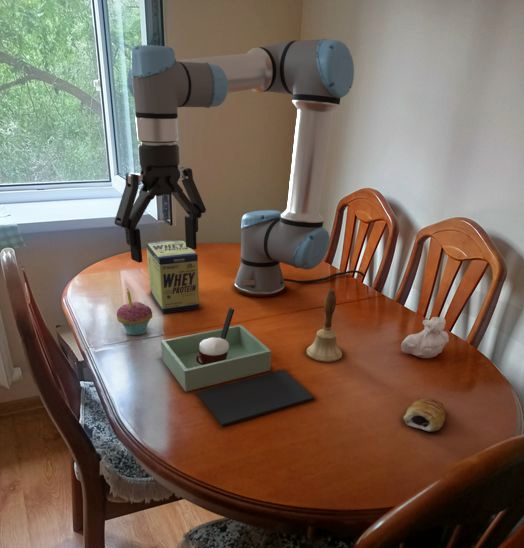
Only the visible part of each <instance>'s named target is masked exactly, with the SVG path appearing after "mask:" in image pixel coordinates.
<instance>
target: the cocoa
mask: <svg viewBox="0 0 524 548" xmlns="http://www.w3.org/2000/svg"><path fill="white" fill-rule="evenodd" d="M234 313H235V309H234V308H233V307H231V306H230V307H229V308H228V311H227V313H226V316H225V320H224V324H223V327H222V328H223V330H222V333H221V337H220V338H215V337H212V338H208V339H204V340H202V341H201V342H200V347H199V355H197V357H196V361H197V362H198V363H199V364H201V365H206V364H210V363H214V362H218V361H223V360H226V358H227V354H228V349H229V344H228V342H227V341H226V340H225V339H226V336H227V332H228V329H229V327H231V323H232V319H233V316H234ZM199 357H200V359H201V362H202V363H201V362H199V360H198V359H199Z"/></svg>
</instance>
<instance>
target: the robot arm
mask: <svg viewBox="0 0 524 548" xmlns="http://www.w3.org/2000/svg"><path fill="white" fill-rule="evenodd" d="M354 76H355V65H354V59H353V55H352V54H351V51H350V49H349V47H348V46H347V44H346V43H344V42H343V41H341V40H339V39H329V38H321V39H320V38H319V39H303V40H301V39H300V40H286V41H281V42H278V43H273V44H270V45H265V46H259V47H258V46H257V47H253V48H250V49H249V50H248V51H247V52H246V53H237V54H226V55H225V54H224V55H214V56H205V57H196V58H186V59H184V58H183V59H176V54H175V50H174V48H172V47H170V46H164V45H148V44H145V45H143V44H141V45H135V46H134V47H132V49H131V52H130V68H129V69H128V73H127V77H126V84H127V88H128V91H129V93H130V95H131V97H132V98H133V103H134V112H135V126H136V136H137V137H136V138H137V141H138V142H140V143H139V144H138V146H137V151H138V152H137V154H138V163H139V165H140V173H133V172H129V171H128V172H126V173H125V186H124V190H123V192H122V195H121V199H120V202H119V206H118V209H117V212H116V215H115V219H114V225H116V226H117V227H121V228H123V229H124V233H125V241H126V244H127V245H128V246H129V248H130V249H129V250H130V259H131V260H132V261H134V262H136V263H143V252H142V240H141V230H140V228H138V227H137V226H138V225H139V224H138V223H140V221H141V220H142V217H143V215H144V213H145V212H146V210H147V208H148V206H149V205H150V204H151V201H152V200H154V199H155V197H162V196H164V195H166V196H168V195H172V197H173V198H174V199H175V201H177V203H178V204H179V205H180V206H181V208H182V210H184V212H186V214H187V216H186V215H185V216H184V233H185V243H186V247H188V248H191V249H192V250H197V247H198V245H197V233H198V232H199V219H201V218H202V216H203V215H202V214H205V213H206V212H207V209H206V206H205V204H204V202H203V199H202V197H201V194H200V192H199V190H198V187H197V185H196V183H195V180H194V175H193V174H194V173H193V169H192V168H190V167H186V166H181V167H180V168H179V165H180V163H181V162H180V146H179V145H178V144H177V142H178V141H179V140H180V136H179V119H178V108H204V109H205V108H206V109H210V108H215V107H219V106H221V104H223V103H224V102H225V100H226V98H227V95H228V94H229V93H236V92H242V91H243V92H244V91H250V90H251V91H252V92H254V93H277V94H285V95H292V101H291V102H292V104H293V105H294V106H295V108H296V110H297V114H296V120H295V131H294V138H293V139H294V140H293V150H292V158H291V166H290V177H289V186H288V187H289V188H288V194H287V205H286V209H285V210H284V211H283V212H282V211H280V210H276V209H275V210H274V209H268V210H267V209H266V210H265V209H264V210H255V211H250V212H247V213H245V214H243V216H242V217H241V225H240V265H239V267H238V271H237V274H236V277H235V279H234V290H235V291H236V292H237V293H239V294H241V295H243V296H246V297H247V296H248V297H253V298H270V297H271V298H272V297H275V296H278V295H281V294H282V293H284V291H285V285H286V284H285V282H290V283H296V284H297V283H298V284H307V283H316V282H321V281H326V280H329V279H331V278H334V277H336V276H342V275H347V274H359V275H361V276H362V277H365V276H366V275H365V273H363V272H362V271H360V270H355V269H354V270H353V269H352V270H346V271H341V272H335V273H333V274H330V275H327V276H325V277H321V278H316V279H315V278H314V279H307V280H305V279H303V280H298V279H293V278H284V275H283V272H282V271H283V270H282V268H281V264H284V265H288V266H292V267H293V268H295V269H303V270H307V271H308V270H313V269H314V268H316V267H318V266H319V265H320V264H321V262H322V261H323V260H324V258H325V257H326V255H327V253H328V250H329V247H330V241H331V239H330V233H329V232H328V229H326V228H324V221H325V220H324V218H323V216H322V215H321V214H320V206H321V201H322V200H321V199H322V193H323V192H322V191H323V184H324V177H325V170H326V164H327V163H326V162H327V155H328V146H329V139H330V132H331V125H332V117H333V113H335V111H337V109H339V108H340V103H341V98H344V97H345V96H347V95H348V94H349V93H350V89H352V86H353V84H354V79H355V77H354ZM179 180H181V183H182V185H183V187H184V189H183V188H182V187H181V186H180V184H179ZM141 185H142V186H141ZM139 186H141V188H140V190H139ZM184 190H185V192H186V194H187V195H186V194H185V192H184ZM137 195H138V196H137Z"/></svg>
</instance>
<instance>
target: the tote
mask: <svg viewBox="0 0 524 548" xmlns="http://www.w3.org/2000/svg"><path fill="white" fill-rule="evenodd" d="M222 330H223V327H222V328H218V329H217V328H216V329H212V330H207V331H202V332H197V333H193V334H188V335H183V336H178V337H173V338H168V339H163V340H160V346H161V347H160V348H161V359H162V362H163V363H164V364H165V365H166V367H167V369H169V372H171V374H172V375H173V376H174V378H175V379H176V380H177V383H179V385H180V386H181V387H182V389H183V390H184V391H185V393H186V392H190V391H195V390H200V389H202V388H206V387H211V386H214V385H219V384H221V383H226V382H230V381H235V380H239V379H242V378H246V377H250V376H253V375H254V376H255V375H257V374H261V373H266V372H269V371H271V367H272V366H271V365H272V350H270V349H269V348H268V347H267V346H266V345H265V344H264V343H263V342H262V341H260V340H259V339H258V338H257V337H256V336H255V335H254V334H252V332H250V331H249V330H248V329H246V328H245V326H243V325H242V324H238V325H237V324H236V325H232V326H231V325H230V326H229V329H228V332H227V336H226V339H225V340H226V341H227V342H228V344H229V349H228V354H227V358H226V360H223V361H218V362H214V363H210V364H206V365H201V364H199V363H198V362H197V361H196V357H197V355H199V347H200V342H201V341H202V340H204V339H208V338H212V337H215V338H220V337H221V333H222ZM198 360H199V362H201V359H200V357H199V359H198ZM201 363H202V362H201Z"/></svg>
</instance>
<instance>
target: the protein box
mask: <svg viewBox="0 0 524 548" xmlns="http://www.w3.org/2000/svg"><path fill="white" fill-rule="evenodd" d="M145 243H146V244H145V245H146V258H147V270H148V280H149V281H148V282H149V293H150V295H151V298H153V301H154V302H155V304H156V305H157V307H158V308H159V310H160V311H161V313H162V314H163V315H164V314H169V313H170V314H171V313H176V312H185V311H191V310H199V309H200V291H199V289H200V288H199V287H200V286H199V285H200V284H199V258H198V253H197V252H196V251H194V249H191V248H188V247H186V241H184V240H183V239H172V240H160V241H159V240H158V241H147V242H145Z"/></svg>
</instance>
